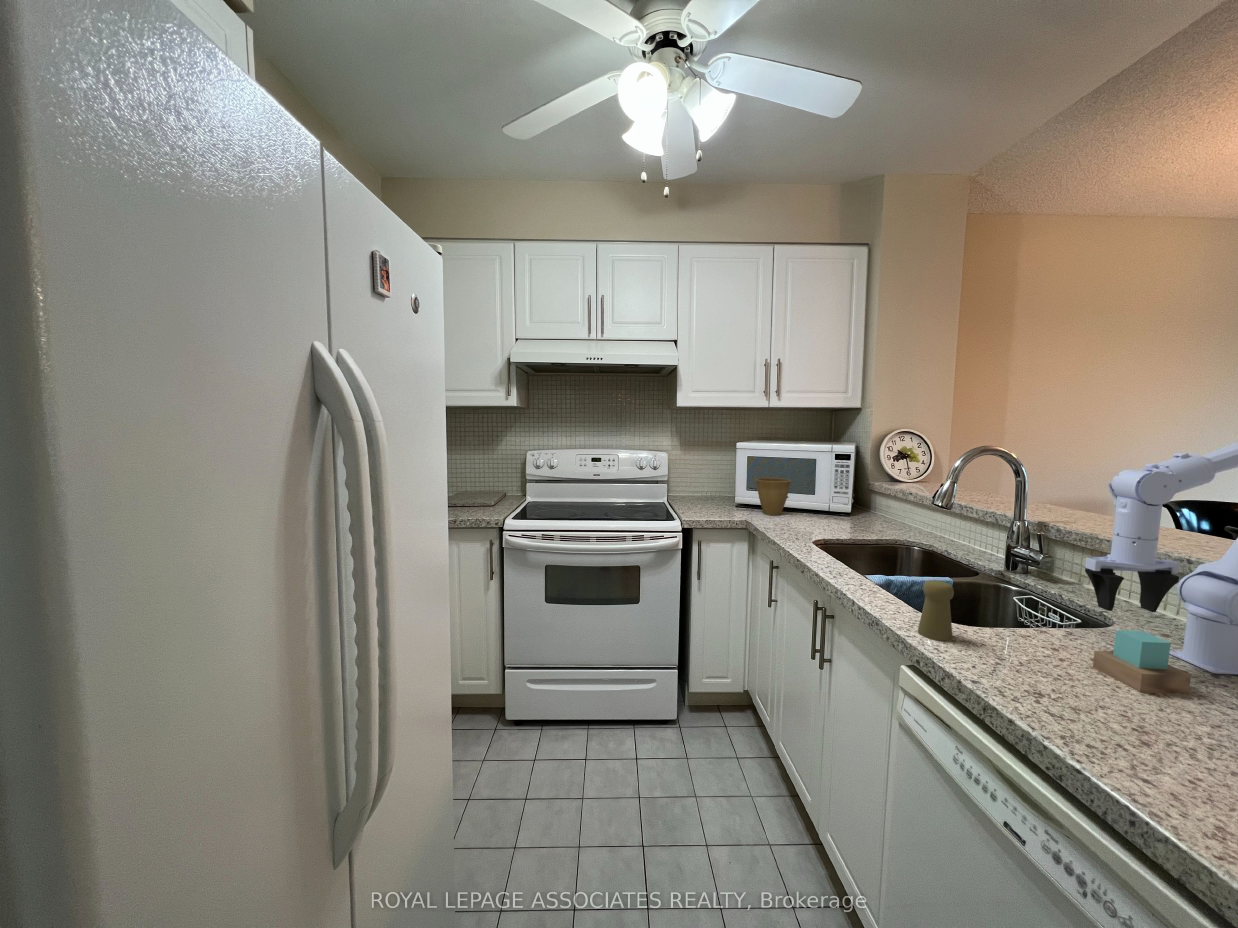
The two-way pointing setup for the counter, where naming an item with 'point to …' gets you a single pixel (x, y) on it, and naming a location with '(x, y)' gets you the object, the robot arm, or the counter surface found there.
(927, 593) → the cork
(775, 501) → the plant pot
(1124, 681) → the walnut block
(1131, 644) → the teal cube
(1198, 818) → the counter surface
